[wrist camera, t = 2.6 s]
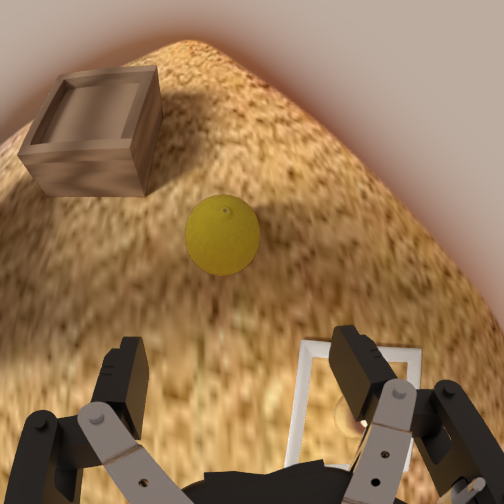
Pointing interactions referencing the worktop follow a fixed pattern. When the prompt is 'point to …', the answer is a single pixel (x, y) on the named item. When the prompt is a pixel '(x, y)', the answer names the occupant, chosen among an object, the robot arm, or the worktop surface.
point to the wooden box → (96, 133)
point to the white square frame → (342, 411)
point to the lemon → (222, 235)
